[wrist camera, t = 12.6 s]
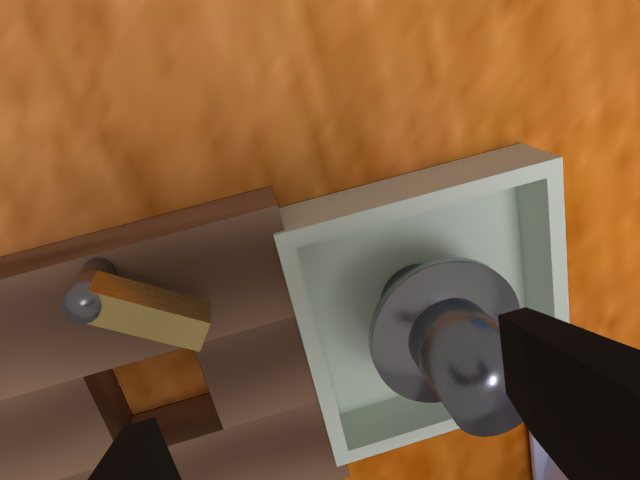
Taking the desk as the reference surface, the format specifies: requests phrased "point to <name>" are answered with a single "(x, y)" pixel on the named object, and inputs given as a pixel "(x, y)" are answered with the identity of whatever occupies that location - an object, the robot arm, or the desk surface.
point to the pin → (446, 341)
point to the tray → (407, 249)
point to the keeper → (136, 307)
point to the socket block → (163, 352)
